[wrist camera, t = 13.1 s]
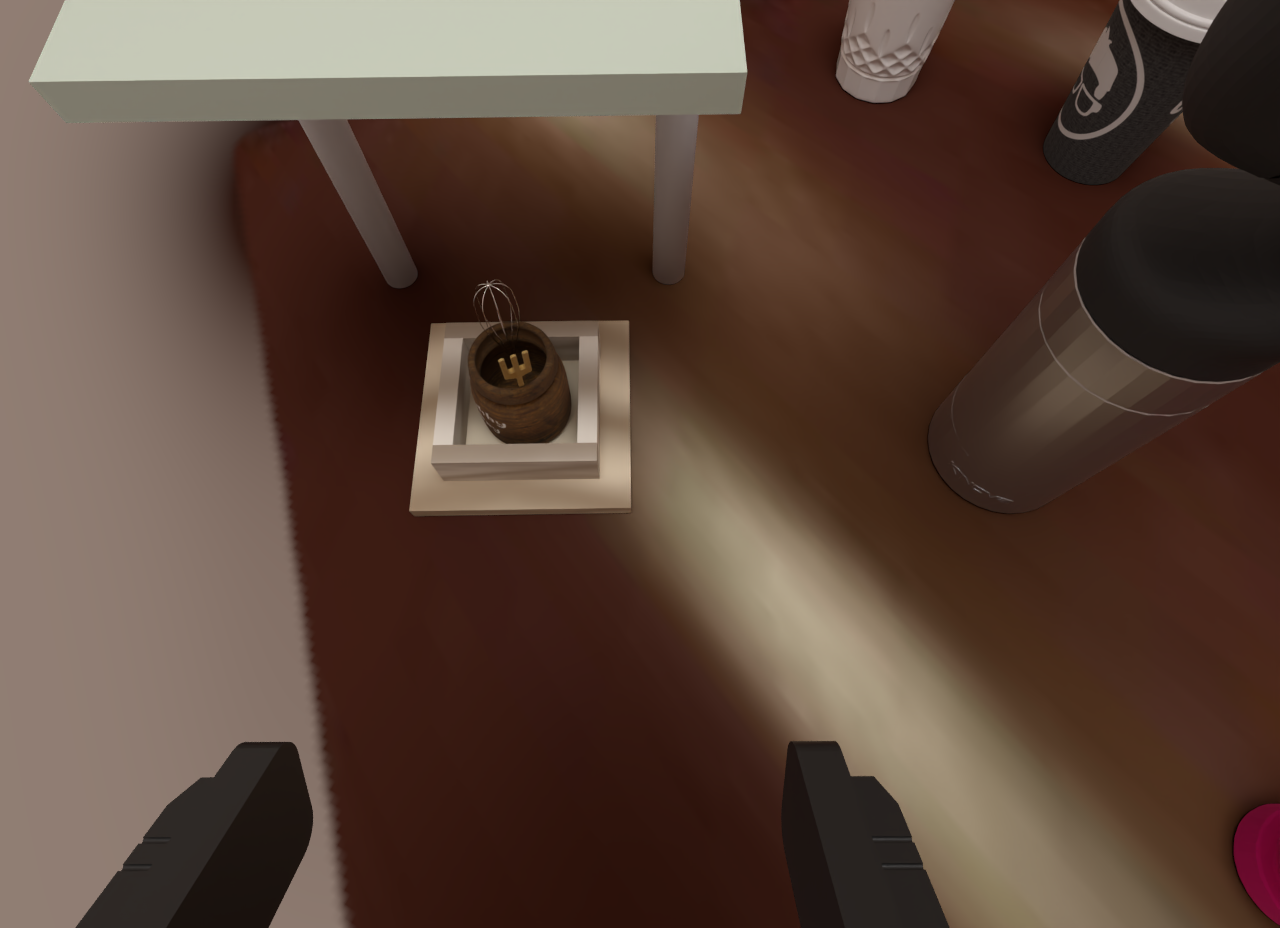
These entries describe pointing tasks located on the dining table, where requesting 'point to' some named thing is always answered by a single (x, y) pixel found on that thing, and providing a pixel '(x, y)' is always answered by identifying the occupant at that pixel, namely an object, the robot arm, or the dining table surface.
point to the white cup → (887, 45)
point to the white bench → (406, 78)
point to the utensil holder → (518, 381)
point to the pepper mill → (1260, 857)
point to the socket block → (526, 473)
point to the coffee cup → (1128, 87)
